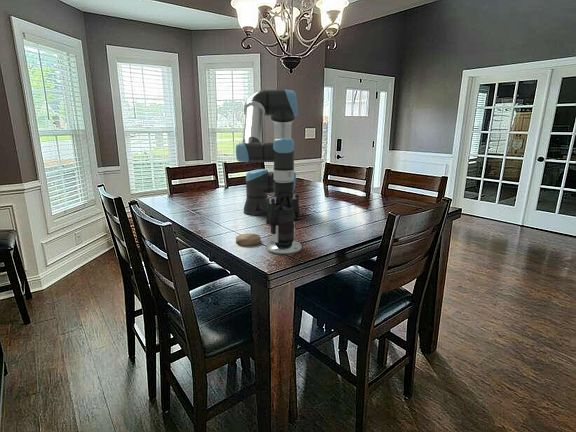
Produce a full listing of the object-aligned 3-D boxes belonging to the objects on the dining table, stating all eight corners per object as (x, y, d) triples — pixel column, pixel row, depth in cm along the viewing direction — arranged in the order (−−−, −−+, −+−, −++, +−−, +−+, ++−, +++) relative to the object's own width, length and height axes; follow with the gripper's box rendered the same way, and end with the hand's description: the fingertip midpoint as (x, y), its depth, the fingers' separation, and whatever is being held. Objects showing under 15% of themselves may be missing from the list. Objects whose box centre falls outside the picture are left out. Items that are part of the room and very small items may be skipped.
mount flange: (258, 249, 131) (258, 247, 130) (278, 239, 142) (278, 237, 142) (289, 257, 124) (289, 254, 123) (308, 246, 135) (308, 243, 135)
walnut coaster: (230, 244, 138) (230, 238, 137) (246, 237, 146) (246, 232, 146) (250, 248, 133) (250, 242, 132) (265, 241, 141) (265, 236, 140)
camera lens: (276, 240, 137) (276, 204, 133) (295, 242, 135) (296, 205, 132) (270, 247, 130) (270, 209, 126) (291, 249, 128) (291, 210, 124)
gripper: (268, 185, 117) (269, 247, 122) (310, 179, 130) (309, 235, 136) (255, 182, 122) (256, 242, 128) (296, 177, 136) (296, 231, 142)
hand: (283, 239), depth 132 cm, fingers closed on camera lens, 8 cm apart
